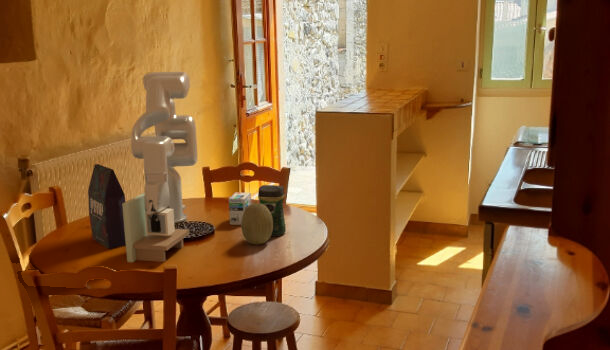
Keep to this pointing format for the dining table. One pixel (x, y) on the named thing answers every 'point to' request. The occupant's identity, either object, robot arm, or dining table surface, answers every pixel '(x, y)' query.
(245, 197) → the light bulb box
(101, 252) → the dining table surface
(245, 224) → the fruit
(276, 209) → the coffee jar
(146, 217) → the cabinet block
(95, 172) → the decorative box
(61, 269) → the dining table surface
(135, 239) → the pale l-shaped piece
